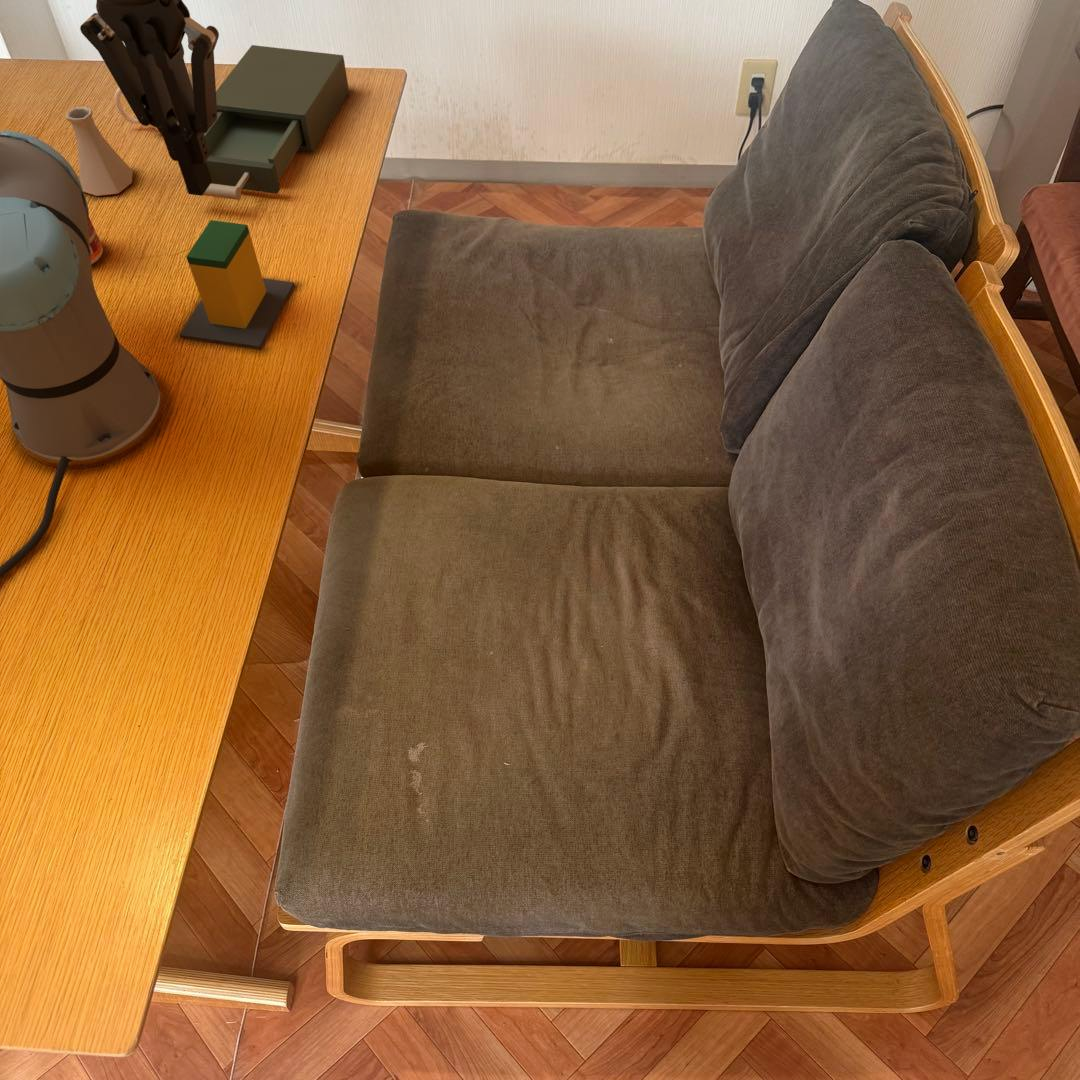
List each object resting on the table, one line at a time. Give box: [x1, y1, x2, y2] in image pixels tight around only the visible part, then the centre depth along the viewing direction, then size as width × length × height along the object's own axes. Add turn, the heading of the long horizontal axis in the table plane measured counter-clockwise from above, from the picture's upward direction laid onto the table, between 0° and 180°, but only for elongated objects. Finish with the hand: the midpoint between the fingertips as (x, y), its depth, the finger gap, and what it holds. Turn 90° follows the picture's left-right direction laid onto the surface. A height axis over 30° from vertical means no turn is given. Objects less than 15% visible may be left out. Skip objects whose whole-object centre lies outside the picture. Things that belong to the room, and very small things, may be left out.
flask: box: [65, 106, 134, 197], centre depth 120 cm, size 7×7×10 cm
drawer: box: [185, 110, 304, 201], centre depth 124 cm, size 22×13×4 cm, turn 170°
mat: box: [179, 277, 296, 350], centre depth 109 cm, size 12×10×1 cm
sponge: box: [186, 219, 266, 329], centre depth 105 cm, size 7×4×10 cm, turn 170°
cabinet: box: [216, 44, 350, 153], centre depth 133 cm, size 18×15×6 cm
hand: (200, 187), depth 96 cm, fingers closed
